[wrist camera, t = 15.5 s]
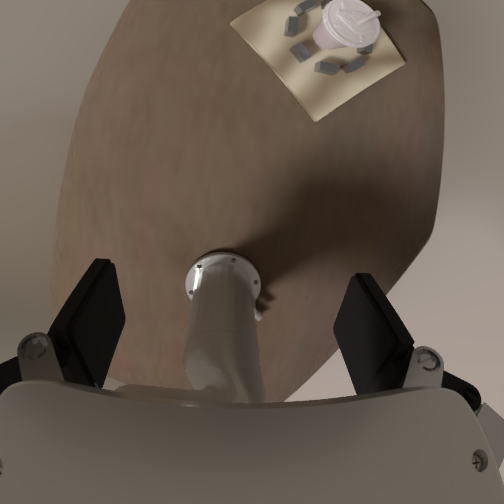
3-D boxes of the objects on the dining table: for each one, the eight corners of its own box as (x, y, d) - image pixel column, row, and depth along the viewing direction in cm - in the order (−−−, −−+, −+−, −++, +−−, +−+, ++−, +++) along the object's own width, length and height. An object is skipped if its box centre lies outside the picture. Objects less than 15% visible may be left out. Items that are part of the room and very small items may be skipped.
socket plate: (400, 64, 30) (405, 63, 29) (313, 121, 35) (316, 121, 34) (328, -27, 23) (331, -30, 21) (230, 25, 27) (230, 22, 26)
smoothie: (341, 65, 30) (395, 51, 17) (297, 47, 28) (332, 19, 16) (352, 29, 27) (406, 4, 14) (309, 11, 25) (348, -28, 13)
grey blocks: (379, 53, 28) (387, 51, 26) (320, 89, 31) (326, 88, 29) (330, -8, 24) (336, -14, 21) (266, 25, 27) (269, 20, 24)
